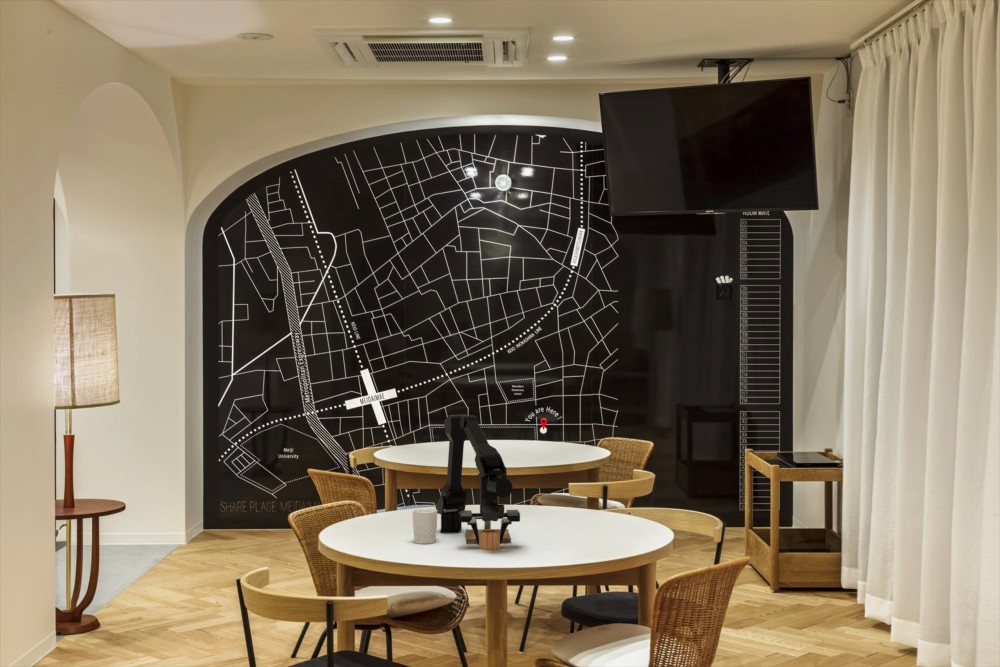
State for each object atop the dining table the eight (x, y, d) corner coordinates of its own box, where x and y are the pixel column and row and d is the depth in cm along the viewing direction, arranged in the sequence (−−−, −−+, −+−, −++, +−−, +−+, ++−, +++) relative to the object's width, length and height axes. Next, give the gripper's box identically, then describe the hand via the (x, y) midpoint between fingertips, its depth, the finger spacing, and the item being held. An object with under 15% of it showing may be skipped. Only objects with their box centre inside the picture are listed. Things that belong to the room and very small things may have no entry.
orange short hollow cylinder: (479, 549, 293) (479, 533, 293) (478, 545, 300) (478, 529, 300) (500, 549, 294) (500, 533, 294) (499, 545, 300) (499, 529, 300)
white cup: (408, 543, 303) (408, 511, 303) (419, 538, 311) (418, 507, 311) (431, 545, 301) (431, 513, 301) (441, 540, 308) (441, 509, 308)
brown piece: (466, 543, 302) (466, 523, 302) (465, 534, 318) (465, 514, 318) (510, 543, 303) (510, 522, 303) (507, 533, 319) (507, 513, 319)
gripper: (459, 497, 288) (459, 550, 288) (521, 496, 289) (521, 549, 289) (458, 492, 299) (458, 542, 299) (518, 491, 300) (518, 541, 300)
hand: (489, 544), depth 297 cm, fingers closed on orange short hollow cylinder, 6 cm apart
